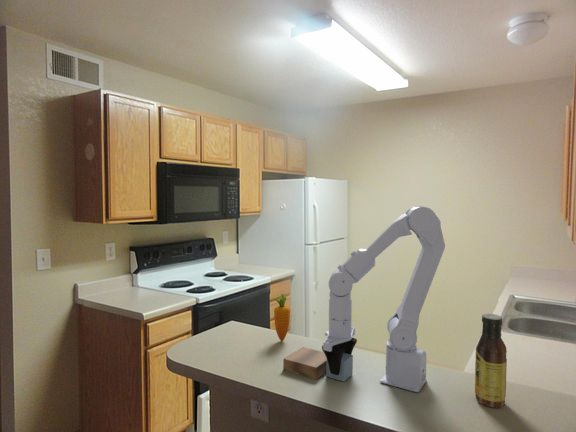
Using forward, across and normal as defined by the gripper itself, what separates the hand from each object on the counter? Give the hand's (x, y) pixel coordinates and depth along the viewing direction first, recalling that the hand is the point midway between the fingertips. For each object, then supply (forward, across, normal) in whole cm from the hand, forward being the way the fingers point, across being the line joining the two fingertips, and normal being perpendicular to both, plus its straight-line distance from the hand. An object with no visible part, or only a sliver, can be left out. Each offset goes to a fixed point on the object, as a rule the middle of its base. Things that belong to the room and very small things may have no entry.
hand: (339, 369), depth 103 cm
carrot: (+2, -12, -26) cm, 29 cm away
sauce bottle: (+2, -7, +34) cm, 35 cm away
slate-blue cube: (+1, 0, 0) cm, 1 cm away
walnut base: (+2, 0, -9) cm, 9 cm away
